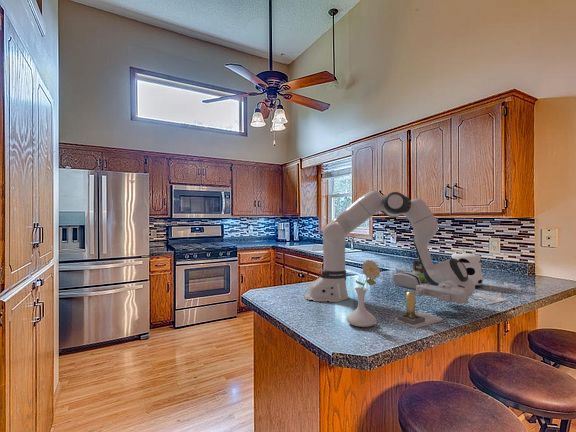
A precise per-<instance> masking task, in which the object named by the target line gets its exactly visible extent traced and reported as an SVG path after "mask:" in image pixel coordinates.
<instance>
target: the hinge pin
mask: <svg viewBox="0 0 576 432" xmlns="http://www.w3.org/2000/svg"><path fill="white" fill-rule="evenodd" d="M405 294H406V296H405V297H406V301H405V302H406V305H405V306H406V309H405V310H406V313H407V318H408V319H411V320H413V319H415V313H416V291H415V292H414V291H411V290H410V291H406V292H405Z"/></svg>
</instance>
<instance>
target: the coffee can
mask: <svg viewBox="0 0 576 432" xmlns="http://www.w3.org/2000/svg"><path fill="white" fill-rule="evenodd" d="M412 274H415V275H417V276H419V278H420V281H421V284H422V285H423V284H428V285H430V284H429V283H428V282H427V281H426V280H425V277H424V273H423V269H422V266H421V263H420V260H419V258H416V259H412Z"/></svg>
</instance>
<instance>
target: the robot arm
mask: <svg viewBox="0 0 576 432" xmlns="http://www.w3.org/2000/svg"><path fill="white" fill-rule="evenodd" d="M378 212H381V213H382V214H384V215H385V216H387V217H390V218H398V217H400V216H405V218H407V220H408V221H409V223H410V225H411V227H412V230H413V234H414V235H413V238H412V241H413V246H414V249H415V252H416V254H417V257H418V259H419V260H420V263H421V266H422V269H423V273H424V277H425V280H426V281H427V282H428V283H429V284H423V285H417V286H416V289H415V294H417V295H418V296H426V297H430V298H434V299H438V301H443V302H445V303H454V304H468V303H469V301H468V300H470V299H469V298H470V297H471V295H472V294H475V291H476V287H475V285H474V283H473V281H472V280H471V279H469V278H468V273H467V270H466V267H465V266H464V264H463V263H462V262H460V261H459V260H457V259H454V258H451V257H450V258H449V259H446V260H442V261H441V262H438V263H435V264H434V262H433V260H432V256H431V254H430V252H429V249H428V246H429V243H430V242H431V240H432V239H433V238H434V237H435V235H436V234H437V233H438V231H439V230H438V229H439V223H438V219H437V218H436V216H435V215H434V213H433V211H432V210H431V209H430V207H429V205H427V204H426V202H425V201H424V200H423V199H422V198H418V197H417V198H412V199H411V198H410V197H408V196H406V195H405V194H403V193H401V192H398V191H392V192H389V193H388V194H386V195H383V194H381V192H380V191H378V190H374V189H373V190H370V191H368V192H366V193H365V194H363V195H361V196H360V197H359V198H358V199H356V200H355V201H354V202H353V203H351V204H349V206H348V207H346V208H345V209H344V210H343V211H342V212H340V213H339V214H337V216H335V217H334V218H333V219H332V220H330V221H329V222H328V223H327V224H326V225H325V226H324V227H323V230H322V249H323V269H318V270H317V273H318V274H319V277H318V278H317V279H315V280H314V281H312V282H311V283H310V285H309V289H308V291H307V292H305V294H304V298H306V300H307V299H308V300H307V301H309V300H313V301H312V302H327V301H329V302H332V303H339V302H342V301H345V300H347V299H349V295H348V290H347V289H348V288H347V283H346V282H347V270H346V236H348V235H349V234H351V233H352V232H353V231H354V230H356V229H357V228H359V227H360V226H361V225H362V224H364V223H365V222H366V221H368V220H369V219H370V218H372V217H373V216H374V215H375V214H376V213H378ZM472 296H473V295H472ZM329 302H328V303H329Z"/></svg>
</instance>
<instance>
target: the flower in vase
mask: <svg viewBox="0 0 576 432" xmlns="http://www.w3.org/2000/svg"><path fill="white" fill-rule="evenodd" d="M361 270H362V273H364V275H365V277H366V279H365V281H364V283H363V282H361V281H358V280H355V283H356V284H358V285H361V286H362V287H360V286H359V287H355V288H354V290H355V292H356V294H357V300H358V301H357V308H355V310H353V311H351V312H350V313H349V314H348V315H347V316H346V319H345V320H346V322H347V323H349V324H350V325H352V326H354V327H355V326H356V327H361V328H366V327H367V328H368V327H372V326H374V325H376V323H377V319H376V317H375V316H374V315H373V314H372V313H371V312H370V311H369V310H367V309H366V306H365V297H366V293H367V291H368V290H369V288H367V287H364V286H365V285H366V283H367V284H368V285H369V286H373V285H376V284H377V282H376V281H375V280H377V279H378V278H379V277H380V276H381V268H380V267H379V265H378V264H377V263H376V262H375V260H374V261H373V260H372V259H371V260H370V259H367V260H365V261H364V262H362V269H361Z"/></svg>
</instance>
